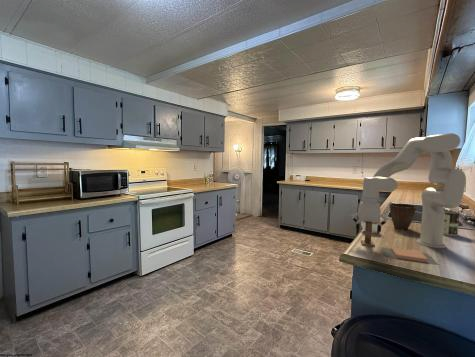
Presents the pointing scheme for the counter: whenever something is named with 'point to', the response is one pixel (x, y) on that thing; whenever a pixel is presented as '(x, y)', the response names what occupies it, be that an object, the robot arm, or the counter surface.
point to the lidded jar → (374, 226)
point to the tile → (408, 254)
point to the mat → (389, 253)
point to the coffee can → (451, 223)
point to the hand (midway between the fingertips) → (368, 231)
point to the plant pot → (402, 215)
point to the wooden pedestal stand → (368, 235)
